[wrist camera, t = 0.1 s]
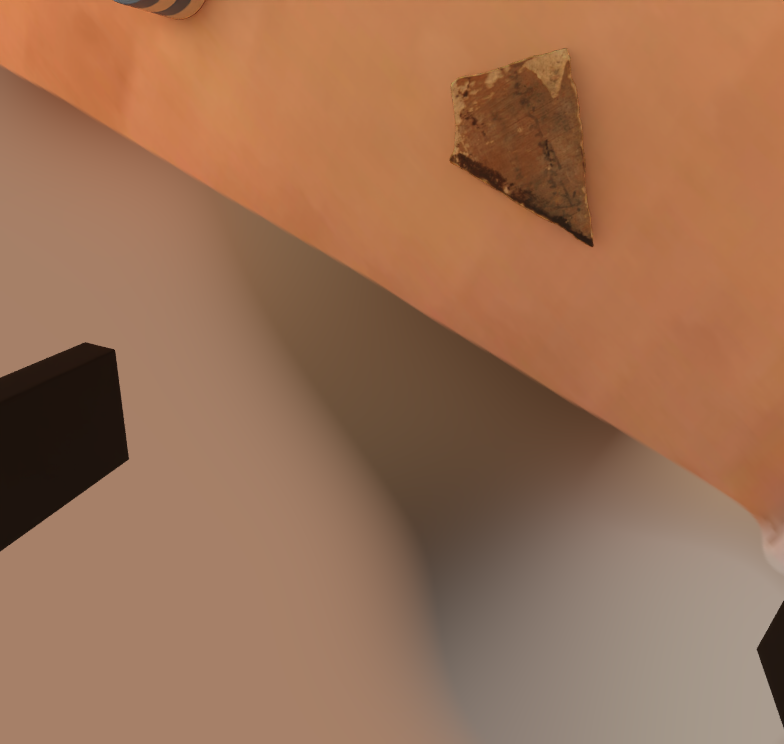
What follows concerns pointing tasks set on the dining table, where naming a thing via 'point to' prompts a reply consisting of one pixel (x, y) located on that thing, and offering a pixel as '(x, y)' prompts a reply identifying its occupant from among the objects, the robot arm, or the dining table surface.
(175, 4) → the chip stack
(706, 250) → the dining table surface
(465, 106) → the shard
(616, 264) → the dining table surface
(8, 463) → the robot arm
